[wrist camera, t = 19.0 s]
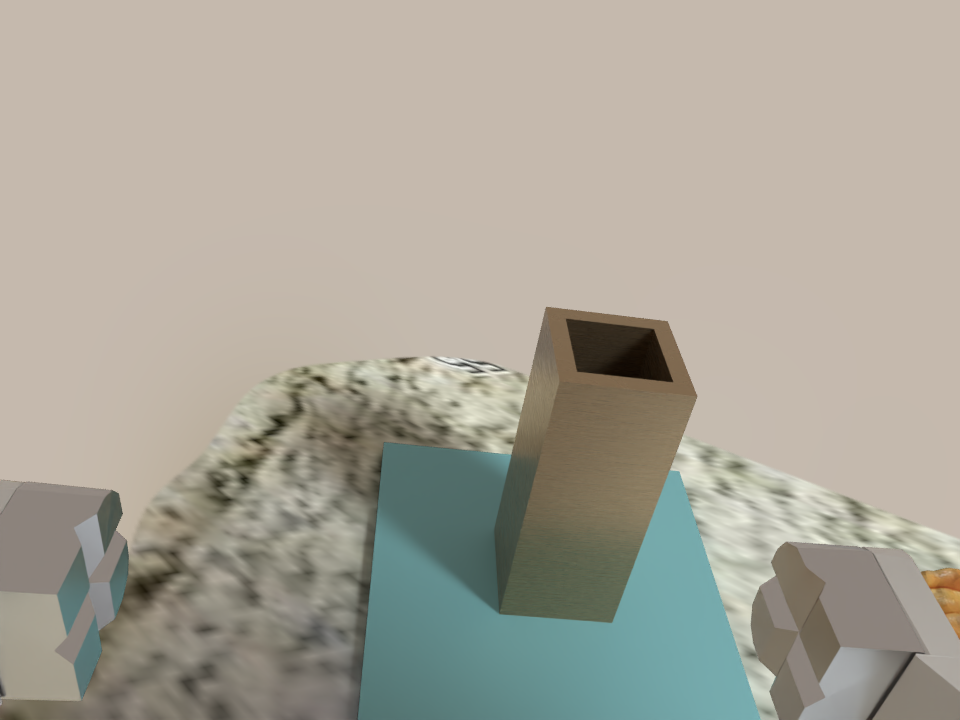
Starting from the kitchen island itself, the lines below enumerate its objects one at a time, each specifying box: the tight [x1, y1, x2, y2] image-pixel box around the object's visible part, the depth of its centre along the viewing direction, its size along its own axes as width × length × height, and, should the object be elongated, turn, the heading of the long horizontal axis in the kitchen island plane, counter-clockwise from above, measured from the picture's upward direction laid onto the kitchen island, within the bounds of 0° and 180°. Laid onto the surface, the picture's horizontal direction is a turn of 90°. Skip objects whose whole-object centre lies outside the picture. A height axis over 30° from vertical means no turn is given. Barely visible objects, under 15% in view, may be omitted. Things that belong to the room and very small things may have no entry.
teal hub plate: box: [358, 442, 761, 720], centre depth 43 cm, size 18×18×5 cm
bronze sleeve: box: [494, 307, 697, 623], centre depth 40 cm, size 6×6×14 cm
